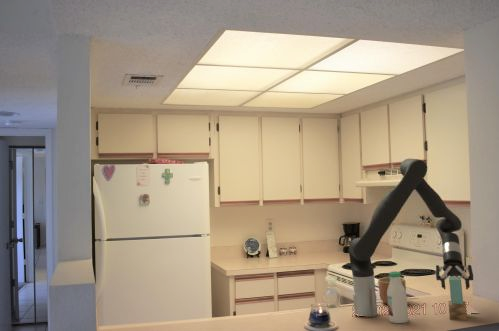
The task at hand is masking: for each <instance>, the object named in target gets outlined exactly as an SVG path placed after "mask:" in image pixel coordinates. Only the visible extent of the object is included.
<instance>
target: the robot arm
mask: <svg viewBox="0 0 499 331" xmlns="http://www.w3.org/2000/svg"><path fill="white" fill-rule="evenodd" d="M399 171H400V173H401V176H402V178H401V180H400V181H399V182H398V184H397V185H396V186H394V187H393V188H392V189H390V191H388V192H387V193H385V195H384V196H383V197H382V198H381V200H380V201H379V203H378V204H377V206H376V207H375V209H374V211H373V214H372V216H371V219H370V222H369V225H368V227H367V229H366V230H365V231H364V233H363V234H362V235H361V237H356V238H354V239H352V240H351V241H350V243H349V246H348V253H349V261H350V262H349V264H350V265H349V266H350V268H351V273H352V285H353V294H352V297H353V308H354V315H355V314H358V315H362V316H373V317H375V315H376V316H377V315H378V306H377V305H378V304H377V292H376V283H375V281H376V280H375V272H374V271H375V270H374V266H373V264H372V260H371V258H372V256H374V254H375V251H377V250H376V249H377V247H378V245H379V243H380V242H381V240H382V238H383V236H385V234H386V232H387V231H388V230H389V227H390V226H391V225H392V224H393V222H394V220H395V219H396V218H397V217H398V215H399V213H400V212H401V210H402V208H403V207H404V206H405V204H406V202H407V201H408V200H409V198H410V196H411V195H412V193H413V192H414V191H416V193H417V194H418V195H419V196H420V198H421V200H423V202H424V204H425V206H426V207H427V208H428V210H429V211H430V213H431V215H432V216H433V217H434V218H437V219H439V220H437V222H436V224H435V225H436V226H435V227H436V230H437V232H438V233H439V236H440V238H441V244H442V251H441V252H442V260H443V265H442V266H440V265H437V264H436V266H435V278H436V281H440V282H441V283H440V284H441V288H443V290H446V279H449V277H461V280H462V279H463V280H464V281H465V282H464V283H465V284H464V285H465V290H468V289H470V287H471V286H470V281H474V273H473V268H472V265H471V264H468V265H466V266H465V265H464V263H463V262H464V261H463V258H462V256H463V254H462V250H461V247H460V246H461V244H460V238H459V236H458V234H457V233H455V232H457V231H460V230H461V229H462V224H463V223H462V221H461V220H460V218H459V217H458V215H457V214H455V213H454V212H453V211H451V210H450V208H449V207H447V205H446V204H445V201H444V200H443V199H442V198H441V196H440V195H439V194H438V193H437V192H436V190H434V189H433V188H432V187H431V185H430V184H429V183H428V182H427V181H426V180H425V176H426V175H427V173H428V165H427V163H426V162H425V160H422V159H419V158H405V159H404V160H402V162H401V163H400V166H399ZM442 271H443V273H442V274H441V275H440V273H441V272H442ZM465 271H466V272H468V275H467V273H466V272H465Z"/></svg>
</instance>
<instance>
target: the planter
mask: <svg viewBox="0 0 499 331" xmlns="http://www.w3.org/2000/svg"><path fill="white" fill-rule="evenodd" d="M400 279H401V282H402V285H403V286H404V288H405V291H406V292H407V290H406V289H407V288H406V287H407V286H406V284H407V282H406V279H405V278H403V277H401V278H400ZM389 283H390V278H389V276H387V277H380V278H379V279H377V285H378V291H379V292H378V293H379V294H378V295H379V298H380V300H381V302H383V303H384V304H386V305H388V301H387V289H388V286H389Z"/></svg>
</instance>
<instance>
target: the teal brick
mask: <svg viewBox="0 0 499 331" xmlns="http://www.w3.org/2000/svg"><path fill="white" fill-rule="evenodd" d="M448 284H449V292H450V301H451V304H463V301H464V297H463V296H464V295H463V283H462V278H461V277H460V276H458V277H455V276H454V277H450V276H449V277H448Z"/></svg>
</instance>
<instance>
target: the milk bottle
mask: <svg viewBox="0 0 499 331" xmlns="http://www.w3.org/2000/svg"><path fill="white" fill-rule="evenodd" d="M401 276H402V275H401V272H400V271H390V272H389V273H388V277H389V278H390V283H389V286H388V289H387V301H388V304H387V311H388V320H389V322H390V323H392V324H405V323H408V322H409V312H408V310H409V309H408V300H407V290H406V291H405V288H404V286H403V285H402V282H401V279H400V278H402V277H401Z"/></svg>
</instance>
